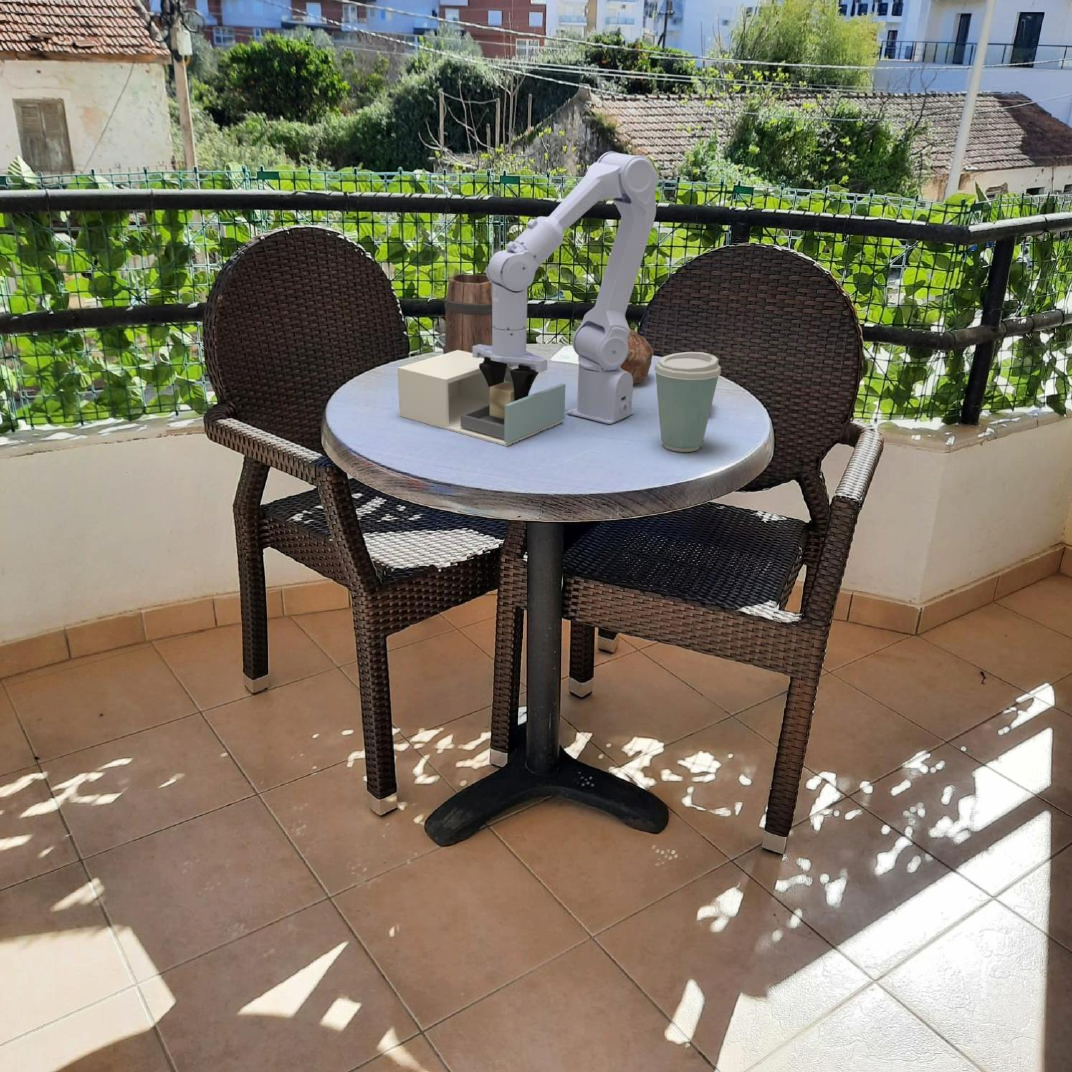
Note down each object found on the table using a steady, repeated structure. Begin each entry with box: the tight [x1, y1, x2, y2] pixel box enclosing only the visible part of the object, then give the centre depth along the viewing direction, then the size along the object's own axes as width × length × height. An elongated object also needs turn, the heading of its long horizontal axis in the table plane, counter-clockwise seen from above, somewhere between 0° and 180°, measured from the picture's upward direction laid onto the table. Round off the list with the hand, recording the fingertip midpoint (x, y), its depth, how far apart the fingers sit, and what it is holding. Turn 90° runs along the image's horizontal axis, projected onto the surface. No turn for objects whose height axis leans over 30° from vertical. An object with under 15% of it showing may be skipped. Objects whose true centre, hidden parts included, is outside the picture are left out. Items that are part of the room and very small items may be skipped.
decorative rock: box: [621, 328, 654, 384], centre depth 194 cm, size 13×11×10 cm
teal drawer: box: [460, 383, 566, 443], centre depth 166 cm, size 11×16×6 cm
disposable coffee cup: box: [654, 351, 722, 453], centre depth 158 cm, size 11×11×15 cm
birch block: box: [490, 381, 514, 419], centre depth 166 cm, size 4×4×5 cm
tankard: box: [442, 273, 513, 383], centre depth 192 cm, size 24×17×20 cm
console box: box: [397, 350, 563, 447], centre depth 169 cm, size 24×16×9 cm, turn 53°
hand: (508, 405), depth 166 cm, fingers closed on birch block, 4 cm apart
